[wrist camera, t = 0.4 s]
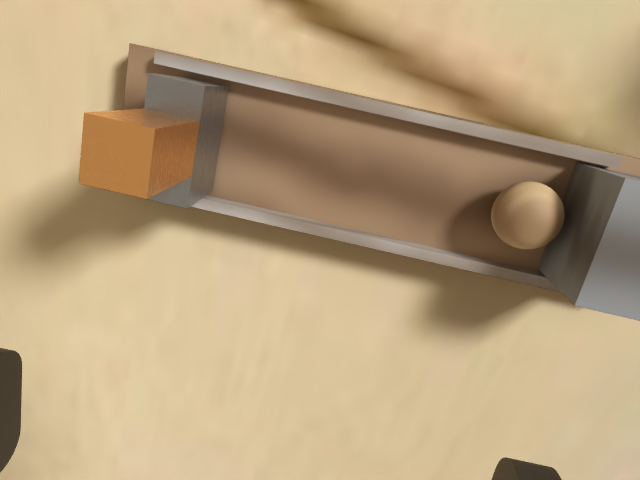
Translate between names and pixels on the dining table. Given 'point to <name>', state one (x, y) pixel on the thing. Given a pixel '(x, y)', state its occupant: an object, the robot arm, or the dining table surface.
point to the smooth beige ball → (527, 215)
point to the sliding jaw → (158, 142)
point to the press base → (413, 181)
